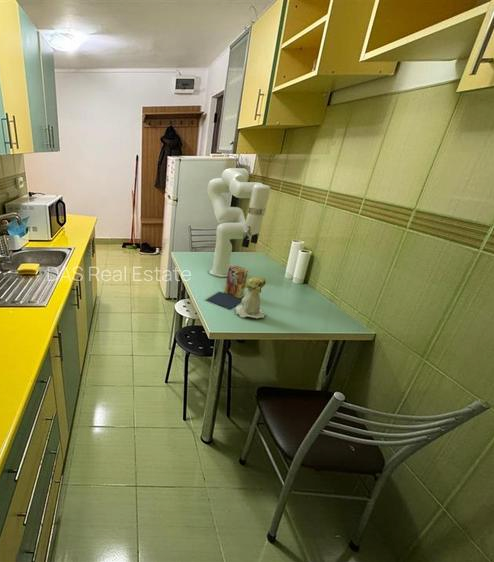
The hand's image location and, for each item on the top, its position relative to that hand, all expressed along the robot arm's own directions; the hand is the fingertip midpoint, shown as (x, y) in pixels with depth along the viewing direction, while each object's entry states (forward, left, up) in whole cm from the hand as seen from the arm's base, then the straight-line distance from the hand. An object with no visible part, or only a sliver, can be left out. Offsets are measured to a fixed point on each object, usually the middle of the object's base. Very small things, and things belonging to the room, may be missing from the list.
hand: (249, 244), depth 154 cm
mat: (+17, 0, -26) cm, 31 cm away
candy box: (+7, 0, -26) cm, 27 cm away
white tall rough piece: (+20, +14, -26) cm, 36 cm away
